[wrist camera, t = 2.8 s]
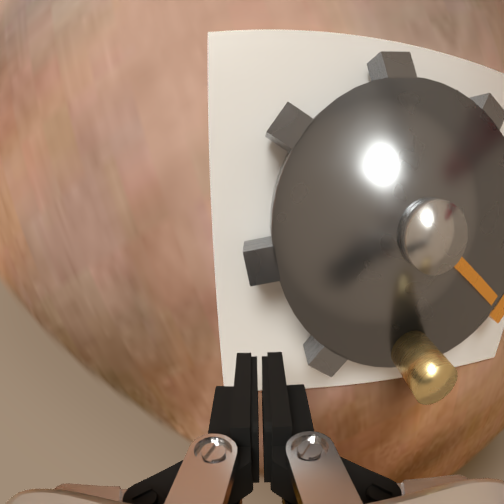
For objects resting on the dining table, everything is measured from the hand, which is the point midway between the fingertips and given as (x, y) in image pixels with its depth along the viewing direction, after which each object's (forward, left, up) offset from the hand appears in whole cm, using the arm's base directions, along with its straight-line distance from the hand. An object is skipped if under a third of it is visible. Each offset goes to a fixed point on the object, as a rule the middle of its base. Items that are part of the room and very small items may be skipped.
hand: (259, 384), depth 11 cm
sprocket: (-5, +7, -4) cm, 10 cm away
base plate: (-5, +7, -4) cm, 10 cm away
